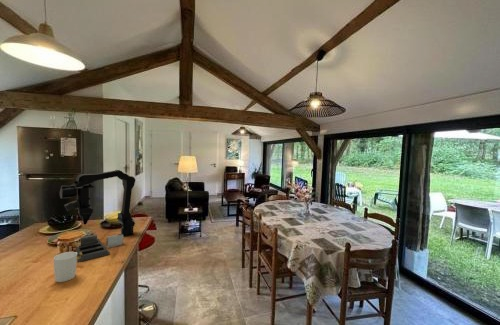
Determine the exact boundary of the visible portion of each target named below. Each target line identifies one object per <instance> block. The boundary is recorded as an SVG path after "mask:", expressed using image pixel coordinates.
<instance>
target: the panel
mask: <svg viewBox="0 0 500 325" xmlns="http://www.w3.org/2000/svg"><path fill="white" fill-rule="evenodd" d="M121 245H124V237H123V234H121V233H119V234H118V233H117V234H113V235H108V236H106V249H109V248H113V247H118V246H121Z"/></svg>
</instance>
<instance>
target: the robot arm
mask: <svg viewBox="0 0 500 325" xmlns="http://www.w3.org/2000/svg"><path fill="white" fill-rule="evenodd" d="M111 178H118V179H119V180H121V181H122V182H121V183H122V187H123V195H122V205H121V211H120V212H118V213H117V218H116V219H117V221H118V222H119V223H120V224H121V228H120V234H123V238H124V237H130V236H134V235H135V233H134V226H136V222H134V221H133V220H132V214H131V211H130V210H131V201H132V200H131V199H132V193H133V192H132V191H133V188H134V187H135V185H136V177H134V176H132V175H128V174H126V173H125V172H123V171H122V170H120V169H115V170H112V171H111V170H110V171H105V172H99V173H81V174H80V173H79V174H78V175H76V177H75V180H74V181H73V182H72V184H71V185H61V186H60V190H59V197H60V199H68V198H69V199H70V198H74V197H76V198H75V200H73V201H70V202H68V203H66V204H64V208H65V211H67V212H69V211H71V210H74V209H75V211H77V212H78V215H79V217H80V220H81V221H82V223H83V225H87V223H88V221H89V220H90V217H91V216H92V214H93V212H94V208H92V207H91V204H90V201H91V196H90V194H91V193H90V189H92V188H95V187H94V185H92V183H95V182H97V181H100V180H105V179H111Z"/></svg>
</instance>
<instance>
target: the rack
mask: <svg viewBox="0 0 500 325" xmlns="http://www.w3.org/2000/svg"><path fill="white" fill-rule="evenodd" d="M81 237H82V238H81V246H79V247H77V248H76V250H77V251H76V252H77V263H81V262H85V261H90V260H94V259H96V258H97V259H98V258H101V257H104V256H109V255H111V253H110V251H109V249H108V248H107V246H105V245H104V244H103V242H102V241H101V240H100V239H99V238H98V235H97V234H91V235H85V236H81Z"/></svg>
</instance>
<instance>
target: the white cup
mask: <svg viewBox="0 0 500 325" xmlns="http://www.w3.org/2000/svg"><path fill="white" fill-rule="evenodd" d="M77 263H78V262H77V252H73V251H66V252H65V251H64V252H62V253H59V254H57V255H55V256H54V257H53V269H54V270H53V271H54V280H55V282H56V283H64V282H67V281H70V280H72V279H74V278H75V277H76V270H77Z"/></svg>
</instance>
